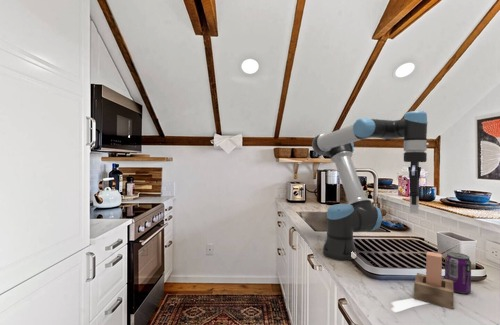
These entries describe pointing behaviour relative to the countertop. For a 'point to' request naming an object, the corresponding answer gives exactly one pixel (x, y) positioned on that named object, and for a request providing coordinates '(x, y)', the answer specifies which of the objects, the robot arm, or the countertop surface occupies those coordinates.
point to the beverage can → (458, 271)
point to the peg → (434, 269)
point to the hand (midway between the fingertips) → (414, 212)
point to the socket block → (434, 292)
